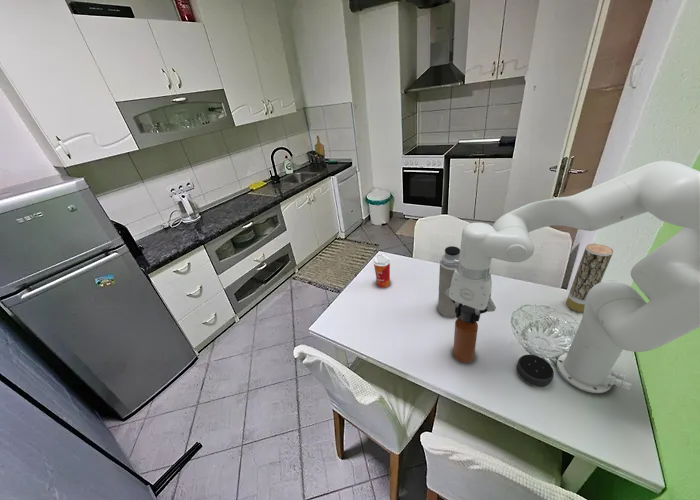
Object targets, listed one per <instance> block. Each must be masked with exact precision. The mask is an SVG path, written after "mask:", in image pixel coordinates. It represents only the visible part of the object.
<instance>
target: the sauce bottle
mask: <svg viewBox="0 0 700 500" xmlns="http://www.w3.org/2000/svg"><path fill="white" fill-rule="evenodd" d="M478 329H479V325H478V322H477V321H476V322H475V324H472V322H469V323H468V322H464V321H462V320H461V319H460V316H459V318H456V319H455V323H454V334H453V335H454V336H453V350H452V355H453V357H454V359H455V360H457V361H459V362H460V363H463V364H464V363H466V364H467V363H471V362H472V361H474V359H475V354H476V347H477V337H478Z"/></svg>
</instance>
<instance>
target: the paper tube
mask: <svg viewBox="0 0 700 500" xmlns="http://www.w3.org/2000/svg"><path fill="white" fill-rule="evenodd" d="M613 254H614V249H613V248H612V247H610V246H608V245H605V244H601V243H588V244H586V245H585V248H584V250H583V254H582V256H581V259H580V261H579V265H578V268H577V271H576V273H575V276H574V278H573V282H572V284H571V287H570V290H569V293H568V296H567V298H566V302H565V305H566V306H567V307H568V309H570V310H572V311H574V312H577V313H584V307H585V301H586V297H587V294H588V292H589V291H590V289H591V288H592V287H593V286H595V285H596V284H598V283H600V282H602V280H603V278H604V275H605V273H606V270H607V269H608V266H609V264H610V261H611V258H612V256H613Z"/></svg>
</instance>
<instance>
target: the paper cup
mask: <svg viewBox="0 0 700 500" xmlns="http://www.w3.org/2000/svg"><path fill="white" fill-rule="evenodd" d="M372 264H373V266H374V272H375V279H376V285H377V286H378V287H379V288H382V289H385V288H388V287H389V286H390V284H391V283H390V282H391V259H390V257H389V256H388V255H386V254H378V255H376V256H374V257H373V260H372Z"/></svg>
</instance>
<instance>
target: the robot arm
mask: <svg viewBox="0 0 700 500" xmlns="http://www.w3.org/2000/svg"><path fill="white" fill-rule="evenodd" d="M647 213H650V214H651V215H652V216H654V217H655V218H656V219H658V220H660V221H661V222H663V223H667V224H670V225H673V226H677V227H682V228H681V229H679V231H678V232H676V233H674V235H672V236H671V237H670V238H668V240H666V241H665V242H664V243H662V244H661V245H659V246H658V247H657V248H655V249H654V250H652V251H651V252H649V254H647V255H645V256H644V257H642V259H639V261H637V263H635V264H634V265H633V266H632V268H631V269H630V277H631V279H632V281H633V283H634V284H635V285H636V287H637V288H638V289H639V290H640V291H641V292H642V293H643V295H644V296H645V297H646V298H647V299H648V302H647V301H646V300H645V299H644V298H643V297H642V295H641V294H640V293H639V292H638V291H637V290H636V289H635V288H634V287H632V286H631V285H629V284H627V283H625V282H623V281H619V280H603V281H601V282H600V283H598V284H596V285H595V286H593V287H592V288H591V289H590V291H589V292H588V294H587V297H586V301H585V307H584V312H582V313H583V314H582V317H581V320H580V323H579V325H578V327H577V329H576V332H575V335H574V337H573V340H572V342H571V344H570V346H569V349H568V351H567V352H564V353H562V354H560V355H559V356H558V358H557V360H556V368H557V370H558V373H559V374H560V375H561V377H562V378H563V379H564V380H565V381H566V382H568V383H569V384H570V385H572V386H573V387H575V388H577V389H579V390H581V391H583V392H587V393H593V394H603V393H606V392H608V391H609V390H610V389H611V388H612V386H617V387H619V388H621V389H623V390H626V391H628V392H630V391H631V389H632V383H630V382H627V381H625V379H626V378H625V377H626V375H625V374H622V373H619V372H616V371H614V370H613V368H614V366H615V364H616V363H617V361H618V359H619V357H620V356H621V354H622V352H623V350H624V351H626V352H631V353H643V352H644V353H645V352H648V351H652V350H655V349H658V348H661V347H663V346H665V345H667V344H669V343H670V342H673V341H675V340H677V339H679V338H681V337H683V336H685V335H686V334H689V333H691V332H692V331H694V330H697V329H698V328H700V170H698V169H695V168H692V167H690V166H687V165H685V164H683V163H680V162H677V161H673V160H658V161H653V162H649V163H647V164H644V165H642V166H639V167H637V168H634V169H632V170H630V171H627V172H624V173H622V174H620V175H618V176H616V177H613V178H610V179H609V180H606V181H604V182H602V183H599V184H597V185H594V186H592V187H590V188H587V189H585V190H583V191H581V192H578V193H575V194H573V195H568V196H560V197H554V198H553V197H552V198H549V199H543V200H537V201H533V202H530V203H527V204H525V205H522V206H520V207H518V208H516V209H513V210H511V211H509V212H506V213H505V214H503V215H501V216H499V218H498V219H497V220H495V222H494V223H493V225H490V224H489V223H486V222H480V221H479V222H470V223H467V224H466V225H465V226H464V227H463V228H462V232H461V239H460V248H459V249H460V257H459V259H458V260H457V259H455V260H454V264H456V265H457V266H458V267H457V268H456V269H455V271H454V274H453V277H452V281H451V286H450V288H449V289H447V290H446V292H445V294H446V295H447V296H448V297H450V299H451V300H452V302H453V303H454V306H455V313H456V316H455V318H456V319H457V318H459V317H460V309H461V306H462V305H467V306H469V307H472V308H475V312H474V313H473V317H472V324H475V322H477V323H478V322H479V321H480V318H481V315H482V314H485V313H487V312H489V313H491V312H495V311H496V309H497V306H496V305H495V303H494V302H493V300H492V298H491V297H492V291H493V290H492V289H493V288H492V287H493V285H492V284H493V282H492V280H493V279H492V273H491V272H490V270H491V264H492V259H495V260H500V261H504V262H509V263H523V262H525V261H527V260H529V259H530V258H531V257H532V256H533V255H534V251H535V244H534V241H533V239H532V237H531V235H530V233H531V232H533V231H536V230H539V229H542V228H546V227H553V226H561V227H568V228H572V229H577V230H581V231H586V232H587V231H588V232H595V231H598V230H600V229H603V228H606V227H609V226H612V225H614V224H617V223H620V222H623V221H626V220H629V219H631V218H634V217H637V216H640V215H642V214H647Z"/></svg>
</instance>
